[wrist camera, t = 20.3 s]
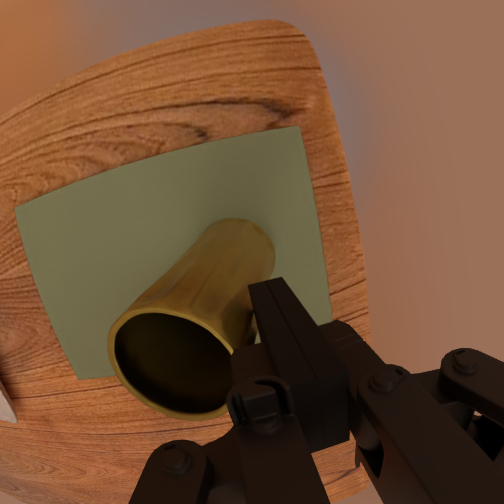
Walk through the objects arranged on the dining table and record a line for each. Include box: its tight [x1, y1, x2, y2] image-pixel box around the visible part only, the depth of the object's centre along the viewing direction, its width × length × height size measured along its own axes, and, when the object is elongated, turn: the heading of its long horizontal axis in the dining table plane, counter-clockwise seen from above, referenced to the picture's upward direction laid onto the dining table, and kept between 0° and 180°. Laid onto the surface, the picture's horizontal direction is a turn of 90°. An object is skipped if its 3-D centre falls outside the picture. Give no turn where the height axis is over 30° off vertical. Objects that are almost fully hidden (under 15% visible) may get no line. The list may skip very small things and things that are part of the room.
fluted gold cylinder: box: [107, 218, 276, 421], centre depth 16 cm, size 6×6×14 cm
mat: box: [14, 126, 332, 380], centre depth 24 cm, size 26×18×1 cm
